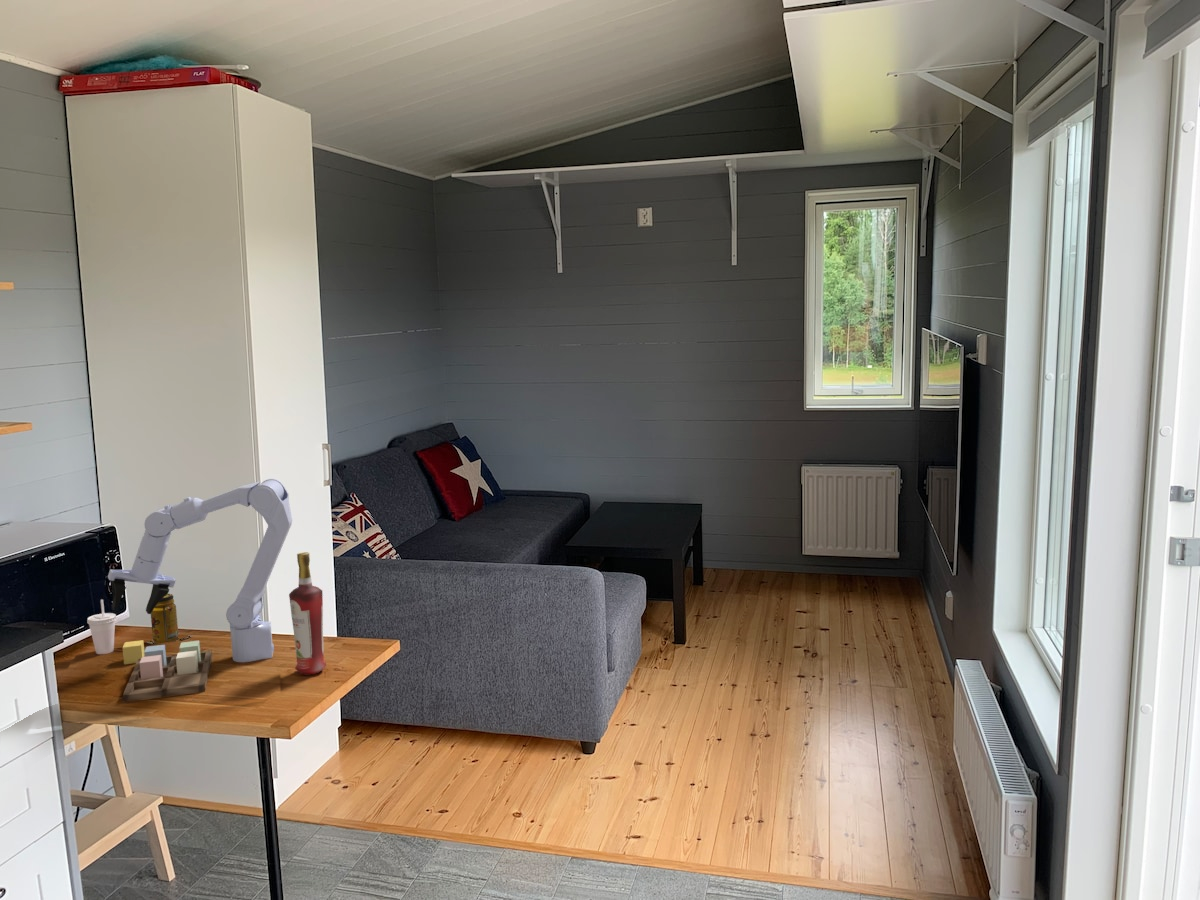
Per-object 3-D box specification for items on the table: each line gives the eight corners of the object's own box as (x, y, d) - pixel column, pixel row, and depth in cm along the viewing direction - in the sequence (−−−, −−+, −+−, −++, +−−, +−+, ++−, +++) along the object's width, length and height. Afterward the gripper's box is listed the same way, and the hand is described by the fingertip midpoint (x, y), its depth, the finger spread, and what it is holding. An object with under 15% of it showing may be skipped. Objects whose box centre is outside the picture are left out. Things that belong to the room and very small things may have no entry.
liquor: (288, 673, 219) (279, 555, 216) (314, 663, 225) (306, 548, 222) (308, 679, 215) (299, 559, 211) (334, 669, 221) (326, 552, 217)
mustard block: (145, 659, 231) (143, 640, 230) (142, 665, 227) (141, 645, 227) (127, 662, 230) (125, 642, 229) (124, 667, 226) (122, 647, 225)
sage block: (200, 660, 227) (199, 640, 226) (199, 666, 223) (197, 645, 223) (182, 662, 226) (181, 642, 225) (181, 668, 222) (179, 647, 221)
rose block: (163, 675, 218) (161, 654, 217) (161, 681, 214) (159, 660, 213) (143, 678, 216) (141, 657, 216) (141, 684, 213) (139, 662, 212)
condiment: (145, 643, 243) (141, 597, 242) (173, 633, 251) (170, 589, 249) (164, 647, 240) (160, 601, 238) (192, 637, 247) (189, 592, 246)
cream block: (198, 671, 220) (196, 650, 219) (197, 677, 216) (195, 656, 216) (179, 673, 219) (177, 652, 218) (177, 679, 215) (176, 658, 214)
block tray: (212, 659, 230) (211, 650, 230) (205, 694, 208) (204, 684, 207) (138, 668, 225) (138, 659, 225) (123, 705, 203) (122, 695, 202)
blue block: (166, 664, 225) (164, 644, 224) (164, 670, 221) (163, 649, 220) (148, 667, 223) (146, 646, 223) (145, 673, 220) (144, 652, 219)
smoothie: (107, 659, 232) (102, 604, 230) (84, 658, 233) (78, 603, 231) (125, 650, 238) (120, 596, 236) (103, 649, 239) (97, 595, 237)
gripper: (176, 555, 231) (158, 606, 233) (113, 546, 222) (95, 600, 223) (184, 566, 226) (165, 619, 227) (119, 558, 217) (101, 613, 218)
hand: (131, 610), depth 225 cm, fingers open, 7 cm apart
